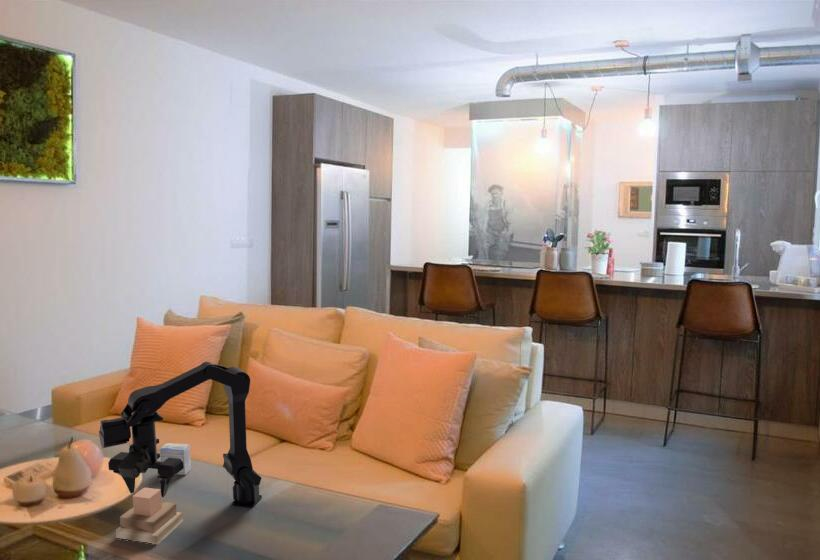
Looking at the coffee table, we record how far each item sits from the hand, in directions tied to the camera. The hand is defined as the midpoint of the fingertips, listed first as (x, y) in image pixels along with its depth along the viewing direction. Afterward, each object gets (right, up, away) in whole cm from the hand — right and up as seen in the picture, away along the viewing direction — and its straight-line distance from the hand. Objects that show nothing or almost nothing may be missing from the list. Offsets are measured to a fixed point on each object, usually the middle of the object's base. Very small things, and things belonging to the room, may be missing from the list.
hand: (147, 494), depth 181 cm
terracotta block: (0, -4, +1) cm, 5 cm away
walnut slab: (0, -7, +2) cm, 8 cm away
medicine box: (-4, -4, +35) cm, 36 cm away
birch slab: (0, -10, +2) cm, 11 cm away
